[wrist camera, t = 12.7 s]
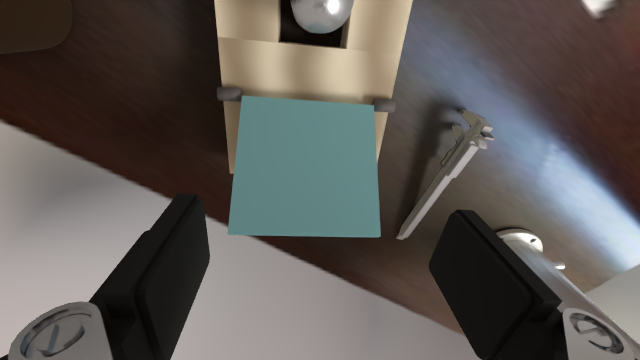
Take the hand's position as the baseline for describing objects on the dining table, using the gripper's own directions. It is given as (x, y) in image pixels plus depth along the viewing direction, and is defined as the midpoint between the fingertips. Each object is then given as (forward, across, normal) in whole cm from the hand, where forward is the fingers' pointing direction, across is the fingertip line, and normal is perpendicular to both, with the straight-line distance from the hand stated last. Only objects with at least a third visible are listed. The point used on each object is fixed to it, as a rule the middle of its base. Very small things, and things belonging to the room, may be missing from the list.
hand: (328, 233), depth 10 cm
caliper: (+23, -17, +9) cm, 30 cm away
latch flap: (+13, 0, +4) cm, 13 cm away
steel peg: (+22, 0, -9) cm, 24 cm away
